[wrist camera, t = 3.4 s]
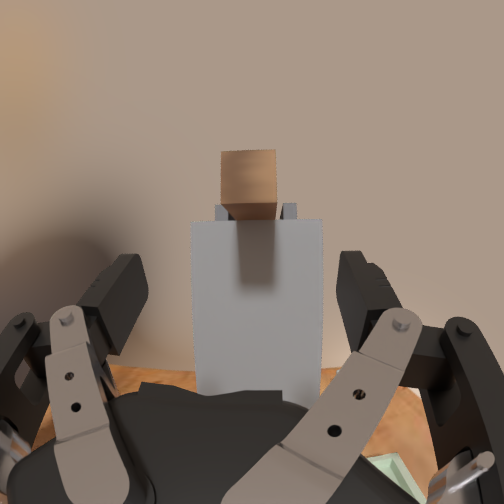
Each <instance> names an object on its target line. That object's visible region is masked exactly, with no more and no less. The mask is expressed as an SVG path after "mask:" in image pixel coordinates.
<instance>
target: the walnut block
mask: <svg viewBox="0 0 504 504" xmlns="http://www.w3.org/2000/svg"><path fill="white" fill-rule="evenodd" d="M221 205H222V206H223V207H224V208H225V209H226V210H227V211H228V212H229V213H230V214H231V215H232V216H233V218H234V219H235V220H236V221H237V220H275V217H276V208H277V182H276V153H275V150H242V151H223V152H221Z"/></svg>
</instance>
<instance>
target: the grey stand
mask: <svg viewBox="0 0 504 504" xmlns="http://www.w3.org/2000/svg"><path fill="white" fill-rule="evenodd" d="M191 287H192V315H193V336H194V337H193V338H194V355H195V370H196V383H197V393H198V394H201V395H205V396H213V395H219V394H226V393H232V392H237V391H243V390H282V395H283V400H284V401H289V402H292V403H296V404H299V405H301V406H303V407H306V408H308V409H309V410H310V408H311V407H312V406H313V405H314V403H315V402H316V401H317V400H318V398H319V394H320V378H321V359H322V357H321V356H322V332H323V330H322V329H323V236H322V219H297V207H296V203H283V206H282V211H281V216H280V220H237V221H236V220H235V219H234V218H233V216H232V215H231V214H230V213H229V212H228V211H227V210H226V209H225V208H224V207H223V206H222V205H215V221H206V222H191Z"/></svg>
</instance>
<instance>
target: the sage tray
mask: <svg viewBox="0 0 504 504" xmlns="http://www.w3.org/2000/svg"><path fill="white" fill-rule="evenodd" d="M366 459H368V460H369V461H370V462H371V463H372V464H373V465H375V466H376V467H377V468H378V469H379V470H380V471H382V472H383V473H384V474H385V475H386V476H388V477H389V478H390V479H391V480H392V481H394V482H395V483H396V484H397V485H398V486H400V487H401V488H402V489H403V490H405V491H406V492H407V493H408V494H410V495H411V496H412V497H413V498H415V499H416V500H417V501H418V502H419V503H420V504H426V502H427V500H426V499H425V497H424V495H423V494H422V492H421V490H420V489H419V487H418V485H417V484H416V482H415V481H414V479H413V477H412V476H411V474H410V473H409V471H408V469H407V468H406V466H405V464H404V463H403V461H402V460H401V458H400V456H399V455H398V453H397V452H396V453H391V454H386V455H381V456H375V457H370V458H366Z"/></svg>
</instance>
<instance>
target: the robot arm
mask: <svg viewBox="0 0 504 504" xmlns="http://www.w3.org/2000/svg"><path fill="white" fill-rule="evenodd" d="M336 295H337V301H338V305H339V308H340V312H341V316H342V319H343V323H344V326H345V330H346V334H347V338H348V341H349V345H350V349H351V353H352V354H351V355H350V356H349V358H348V359H347V361H346V362H345V363H344V365H343V366H342V368H341V369H340V370H339V372H338V373H337V375H336V376H335V377H334V379H333V380H332V381H331V383H330V384H329V385H328V387H327V388H326V389H325V391H324V392H323V393H322V394H321V396H320V397H319V398H318V400H317V401H316V402H315V403H314V405H313V406H312V407H311V408H310V410H309V409H308V408H306V407H303V406H301V405H299V404H296V403H292V402H289V401H284V400H283V395H282V390H243V391H237V392H232V393H226V394H219V395H213V396H205V395H201V394H198V393H194V392H191V391H188V390H185V389H182V388H179V387H176V386H173V385H163V384H155V383H147V382H141V385H140V388H139V391H138V392H132V393H127V394H124V395H121V396H120V395H119V392H118V389H117V387H116V384H115V381H114V379H113V376H112V373H111V370H110V367H109V364H108V362H107V360H106V357H107V355H108V354H110V355H118V356H119V355H120V353H121V351H122V349H123V347H124V345H125V343H126V341H127V339H128V337H129V335H130V332H131V331H132V329H133V327H134V324H135V322H136V320H137V318H138V316H139V315H140V313H141V310H142V308H143V307H144V305H145V303H146V301H147V298H148V284H147V280H146V277H145V273H144V269H143V265H142V261H141V258H140V256H139V255H138V254H121V255H119V256H118V258H117V259H116V260H115V261H114V263H113V264H112V265H111V266H109V267H108V268H106V269H105V270H103V271H102V272H101V273H100V274H99V276H98V277H97V278H96V279H95V281H94V282H93V283H92V284H91V287H89V288H88V290H87V291H86V292H85V293H84V295H83V296H82V297H81V299H80V300H79V301H78V303H77V304H76V306H75V305H71V306H66V307H63V308H61V309H59V310H58V311H57V312H55V313H54V315H53V316H52V317H51V319H50V321H49V322H43V323H37V321H36V319H35V317H34V316H33V314H32V313H28V312H26V313H21V314H19V315H17V316H15V317H14V318H13V319H12V320H11V321H10V322H9V323H8V325H7V326H6V327H5V329H4V330H3V331H2V333H1V334H0V504H420V503H419V502H418V501H417V500H416V499H415V498H413V497H412V496H411V495H410V494H408V493H407V492H406V491H405V490H403V489H402V488H401V487H400V486H398V485H397V484H396V483H395V482H394V481H392V480H391V479H390V478H389V477H388V476H386V475H385V474H384V473H383V472H382V471H380V470H379V469H378V468H377V467H376V466H375V465H373V464H372V463H371V462H370V461H369V460H368V459H366V458H365V457H364V456H363V455H362V454H361V452H362V451H363V449H364V447H365V446H366V444H367V442H368V441H369V439H370V437H371V436H372V434H373V432H374V431H375V429H376V427H377V425H378V424H379V422H380V420H381V418H382V416H383V415H384V413H385V411H386V409H387V407H388V405H389V403H390V401H391V399H392V397H393V395H394V393H395V391H396V389H397V387H398V386H403V387H410V388H418V389H419V391H420V394H421V398H422V402H423V406H424V409H425V413H426V417H427V421H428V425H429V429H430V433H431V437H432V442H433V446H434V451H435V456H436V461H437V466H438V471H437V472H436V473H435V474H434V476H433V477H432V479H431V480H430V483H429V487H428V499H427V502H426V504H504V374H503V372H502V370H501V368H500V366H499V364H498V362H497V360H496V358H495V356H494V355H493V352H492V351H491V349H490V347H489V345H488V343H487V341H486V340H485V338H484V336H483V334H482V333H481V331H480V329H479V328H478V326H477V325H476V324H475V323H474V322H472V321H471V320H469V319H466V318H463V317H453V318H451V319H449V320H448V321H447V322H446V324H445V327H444V328H437V327H430V326H424V325H422V322H421V320H420V318H419V317H418V316H417V315H416V314H415V313H414V312H412V311H410V310H407V309H404V308H403V307H402V306H401V303H400V301H399V300H398V298H397V296H396V294H395V292H394V290H393V288H392V287H391V285H390V283H389V281H388V280H387V277H386V276H385V274H384V272H383V270H382V269H380V268H379V267H378V266H377V265H375V264H374V263H367V262H366V260H365V258H364V256H363V254H362V252H361V251H342V252H341V254H340V261H339V269H338V277H337V285H336ZM23 358H24V360H25V361H26V363H27V364H28V366H29V367H30V371H29V373H28V375H27V376H26V378H25V380H24V382H23V384H22V386H21V388H20V389H19V388H18V387H17V386H16V384H15V380H14V375H15V372H16V370H17V368H18V367H19V365H20V364H21V362H22V360H23ZM49 404H50V406H51V412H52V417H53V423H54V428H55V433H56V437H55V438H53V439H51V440H50V441H48V442H47V443H45V444H44V445H42V446H41V447H39V448H38V449H36V450H34V451H33V452H31V448H32V445H33V442H34V440H35V437H36V435H37V432H38V430H39V427H40V425H41V422H42V420H43V417H44V415H45V413H46V410H47V408H48V406H49Z"/></svg>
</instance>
